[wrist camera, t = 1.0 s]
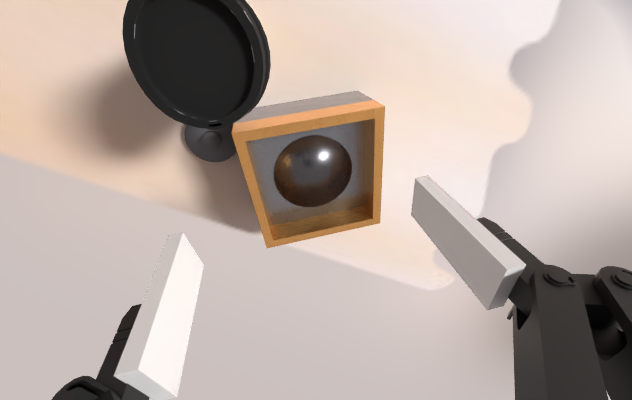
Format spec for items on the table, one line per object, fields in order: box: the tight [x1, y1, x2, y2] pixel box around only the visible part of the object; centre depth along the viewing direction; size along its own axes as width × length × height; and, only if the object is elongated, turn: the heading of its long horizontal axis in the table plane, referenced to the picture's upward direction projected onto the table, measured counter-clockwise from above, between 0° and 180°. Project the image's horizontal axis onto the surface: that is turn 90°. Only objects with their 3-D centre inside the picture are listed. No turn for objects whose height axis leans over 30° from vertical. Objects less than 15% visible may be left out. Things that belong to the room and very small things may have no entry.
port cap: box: [185, 123, 236, 162], centre depth 31 cm, size 6×6×2 cm
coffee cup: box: [123, 0, 270, 130], centre depth 20 cm, size 8×8×15 cm
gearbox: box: [231, 91, 385, 248], centre depth 32 cm, size 15×15×8 cm
